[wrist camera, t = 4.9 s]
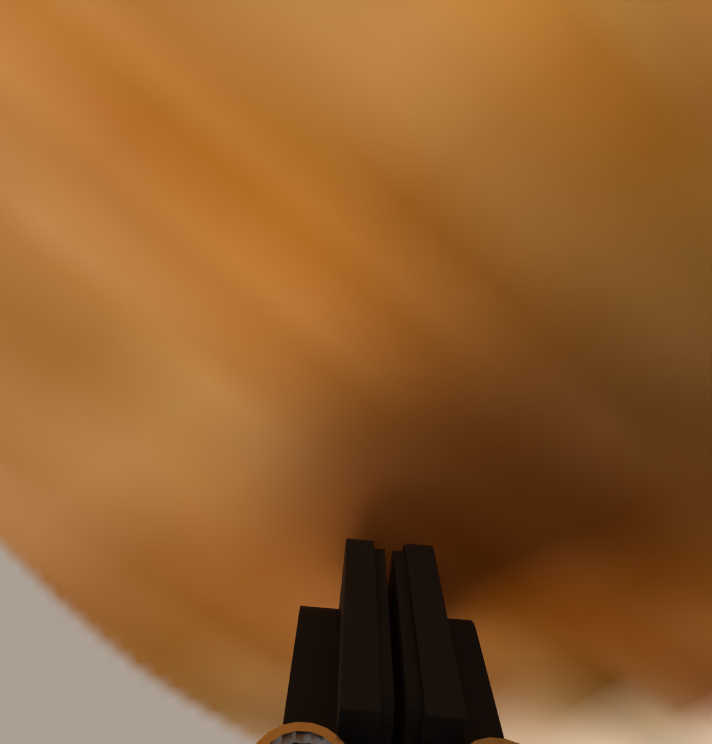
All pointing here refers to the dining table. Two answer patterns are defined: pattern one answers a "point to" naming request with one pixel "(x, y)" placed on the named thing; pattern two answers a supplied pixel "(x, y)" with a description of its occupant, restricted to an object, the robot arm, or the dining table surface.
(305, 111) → the dining table surface
